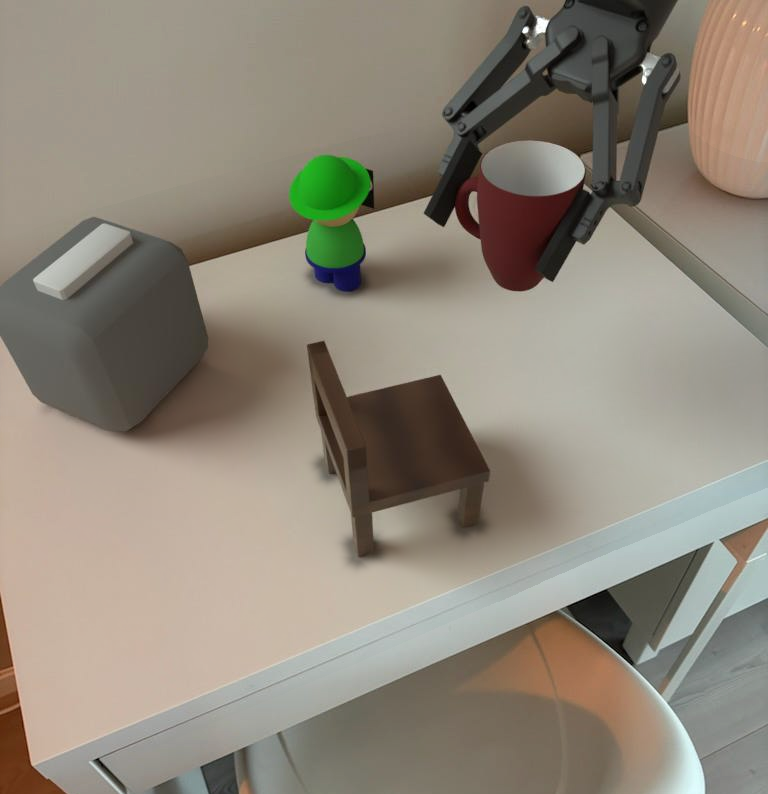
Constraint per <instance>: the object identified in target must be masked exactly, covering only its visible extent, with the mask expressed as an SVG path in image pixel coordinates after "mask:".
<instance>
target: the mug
mask: <svg viewBox="0 0 768 794" xmlns="http://www.w3.org/2000/svg"><path fill="white" fill-rule="evenodd" d="M586 175H587V169H586V164H585V163H584V161H583V160H582V159H581V157H580V156H579V155H578V154H577V153H575V152H574V151H572V150H571V149H569V148H567V147H565V146H562V145H560V144H557V143H553V142H548V141H545V140H544V141H543V140H532V139H531V140H529V139H527V140H525V139H524V140H515V141H509V142H505V143H502V144H499V145H496V146H495V147H493V148H491V149H490V150H488V151H487V152H486V153H485V154H484V155H483V157H482V158H481V159H480V163H479V169H478V176H471V177H470V179H468V180H466V181H465V182H464V183H463V184H462V185H461V187H460V188H459V190H458V192H457V194H456V198H455V207H454V210H455V215H456V217H457V220H458V222H459V224H460V225H461V227H462V228H463V229H464V230H465V231H466V232H467V233H469V234H470V235H471V236H473V237H475V238H476V239H478V240H480V246H481V247H480V248H481V253H482V258H483V260H484V263H485V264H486V267H487V269H488V271H489V273H490V275H491V277H492V278H493V281H494V282H495V283H496V285H497V286H499V287H500V288H502V289H503V290H506V291H510V292H527V291H529V290H533V289H534V288H535V287H537V286H538V285H539V283H541V281H542V280H544V279H545V278H544V277H543V276H542V275H541V274H539V273H538V272H537V271H536V270H535V267H536V265H537V264H538V262H539V260H540V258H541V256H542V255H543V253H544V251H545V249H546V248H547V246H548V244H549V242H550V240H551V239H552V237H553V235H554V233H555V232H556V230H557V228H558V226H559V225H560V223H561V221H562V219H563V217H564V216H565V214H566V212H567V210H568V209H569V207H570V205H571V203H572V201H573V200H574V198H575V196H576V194H577V193H578V191H579V189H580V188H581V189H584V186H585V181H586ZM473 192H474V193H476V207H477V218H478V221H477V220H476V219H475V218H474V217H473V214H472V212H471V210H470V209H471V208H470V196H471V194H472V193H473Z"/></svg>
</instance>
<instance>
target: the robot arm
mask: <svg viewBox="0 0 768 794" xmlns="http://www.w3.org/2000/svg"><path fill="white" fill-rule="evenodd" d="M678 1H679V0H564V3H563V6H562V7H561V8H560V9H559V10H558V11H557V12H556V14H554V15H553V16H552V17H551V18H550V19H549V18H547V17H544V16H539V15H536V14H534V13H533V11H532V10H531V8H530V6H528V5H523V6H521V7H520V8H519V9H518V10H517V11H516V13H515V15H514V18H513V20H512V22H511V24H510V26H509V28H508V30H507V32H506V34H505V35H504V36H503V38H502V39H501V40H500V41H499V42H498V43H497V45H495V47H494V48H493V49H492V51H490V53H489V54H488V55H487V56H486V58H485V59H484V60H483V61H482V62H481V64H480V65H479V66H478V67H477V68H476V70H475V71H474V72H473V73H472V74H471V75H470V77H469V78H468V79H467V80H466V82H465V83H464V84H463V85H462V87H460V89H459V90H458V91H457V92H456V93H455V95H454V96H453V97H452V98H451V99H450V100H449V101H448V103H447V104H446V105H445V106H444V107H443V109H442V112H441V116H442V118H443V119H444V121H446V122H447V124H448V125H449V126H450V127H451V129H452V130H453V137H452V139H451V141H450V143H449V146H448V147H447V149H446V150H445V151H446V152H445V153H444V155H443V157H442V159H441V161H440V163H439V165H438V169H437V174H438V175H439V176H440V180H439V182H438V184H437V186H436V188H435V189H434V191H433V194H432V195H431V198H430V200H429V201H428V203H427V205H426V208H425V209H424V211H423V215H425V216H426V217H427V218H429V219H430V220H432V222H434V223H436V224H437V225H438V226H440V227H442V228H445V227H446V225H447V223H448V221H449V220H450V217H451V215H452V213H453V211H454V210H455V198H456V194H457V192H458V190H459V188H460V187H461V185H462V184H463V183H464V182H465V181H466V180H468V179H470V178H472V174H473V173H474V172H475V169H476V167H477V165H478V163H479V161H480V160H481V157H482V156H483V153H482V152H481V150H480V147H479V144H480V143H482V142H483V141H484V140H486V139H487V138H488V137H490V136H491V135H492V134H494V133H495V132H497V131H498V130H499V129H500V128H502V127H503V126H504V125H506V124H507V123H508V122H509V121H511V119H513V118H515V117H516V116H517V115H518V114H520V113H521V112H522V111H524V110H525V109H526V108H527V107H529V106H530V105H531V104H533V103H534V102H535V101H536V100H538V99H539V98H540V97H546V96H548V95H551V94H552V93H553V92H554V91H556V90H558V92H561V93H563V94H566V95H568V94H569V95H577V96H578V97H579V98H580V99H581V100H583V101H585V102H588V103H591V104H592V168H591V169H592V170H591V171H592V173H591V174H592V176H591V177H592V179H591V180H592V181H591V184H589V188H590V189H591V193H590V191H587V190H586V189H584V188H583V189H581V188H580V189H579V191H578V193H577V194H576V196H575V198H574V200H573V201H572V203H571V205H570V207H569V209H568V210H567V212H566V214H565V216H564V217H563V219H562V221H561V223H560V225H559V226H558V228H557V230H556V232H555V233H554V235H553V237H552V239H551V240H550V242H549V244H548V246H547V248H546V249H545V251H544V253H543V255H542V256H541V258H540V260H539V262H538V264H537V265H536V267H535V270H536V271H537V272H538V273H539V274H541V275H542V276H543V277H544V278H543V279H546V281H550V282H551V283H554V281H555V279H556V278H557V276H558V274H559V272H560V271H561V269H562V267H563V266H564V264H565V262H566V260H567V259H568V257H569V255H570V253H571V252H572V250H573V249H574V247H575V245H576V244H577V243H579V244H581V245H583V246H585V245H586V244H587V243H588V242H589V241H590V240H591V238H592V237H593V235H594V233H595V232H596V230H597V228H598V226H599V225H600V223H601V221H602V219H603V218H604V216H605V214H606V212H607V211H608V209H610V208H611V207H612V206H615V205H626V206H628V207H631V208H632V207H636V206H638V205H639V204H640V203H641V201H642V199H643V193H644V190H645V186H646V183H647V178H648V175H649V170H650V166H651V162H652V160H653V159H652V158H653V155H654V151H655V148H656V143H657V139H658V135H659V130H660V128H661V123H662V119H663V116H664V111H665V107H666V104H667V102H668V100H669V99H670V98H671V95H672V94H673V92H674V90H675V89H676V88H677V86H678V84H679V83H680V80H681V72H680V69H679V65H678V62H677V59H676V55H675V54H673V53H672V52H667V53H664V54H662V55H661V56H659V55H657V54H654V53H652V52H651V48H652V45H653V43H654V41H656V39H657V38H658V37H659V35H660V33H661V32H662V30H663V28H664V26H665V25H666V22H667V21H668V19H669V17H670V15H671V14H672V12H673V11H674V8H675V6H676V5H677V3H678ZM543 40H545V47H544V48H543V49H542V50H540V51H539V52H538V53H537V54H535V55H534V56H533V57H532V58H530V59H529V60H528V61H527V62H526V64H525V67H524V69H522V71H520V72H519V73H518V74H517V75H515V76H514V77H513V75H514V74H515V72H516V71H517V70H518V69H519V68H520V66H522V64H523V63H524V62H525V60H527V57H528V56H529V55H530V53H531V51H532V50H534V51H536V50H537V49H538V48H539V46H540V45H539V44H540V42H542V41H543ZM545 71H547V74H544V73H545ZM640 74H642V75H641V83H642V87H643V88H642V90H641V91H642V92H641V93H640V98H639V102H638V105H637V110H636V113H635V118H634V122H633V126H632V129H631V134H630V137H629V142H628V146H627V149H626V154H625V157H624V162H623V165H622V170H621V174H620V178H619V180H617V167H618V166H617V165H618V164H617V161H618V160H617V159H618V157H617V156H618V151H617V150H618V115H619V112H620V88H621V87H622V86H624V85H625V84H626V83H628V82H629V81H631V80H633V79H634V78H636V77H637V76H638V75H640ZM511 77H513V78H511ZM510 78H511V79H510ZM509 79H510V80H509ZM508 80H509V81H508Z"/></svg>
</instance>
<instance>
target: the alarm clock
mask: <svg viewBox="0 0 768 794" xmlns="http://www.w3.org/2000/svg"><path fill="white" fill-rule="evenodd" d="M0 338H1V341H2V342H3V344H4V345H5V347H6V349H7V351H8V353H9V355H10V356H11V358H12V360H13V361H14V364H15V365H16V367H17V369H18V371H19V372H20V374H21V376H22V378H23V380H24V381H25V383H26V385H27V386H28V389H29V390H30V392H31V394H32V396H34V398H36V399H37V400H38V401H39V402H40V403H42V404H45V405H47V406H49V407H51V408H54V409H56V410H59V411H61V412H62V413H64V414H65V413H66V414H68V415H70V416H72V417H74V418H77V419H80V420H81V421H84V422H86V423H89V424H91V425H93V426H96V427H98V428H101V429H102V430H105V431H111V432H127V431H129V430H130V429H132V428H134V427H135V426H137V425H138V424H140V423H141V422H142V421H143V420H144V419H145V418H146V417H147V416H149V414H150V413H151V412H152V411H153V410H154V409H155V408H156V406H158V405H159V403H160V402H161V401H162V400H163V399H164V398H165V397H167V395H168V394H169V393H170V392H171V391H172V390H173V389H174V388H175V387H176V386H177V384H179V382H180V381H182V380H183V378H184V377H185V376H186V375H187V374H188V373H189V372H190V371H191V370H192V369H193V368H194V366H196V365H197V364H198V363H199V361H200V360H201V359H202V358H204V356H205V355H206V353H207V350H208V348H209V335H208V332H207V327H206V324H205V319H204V317H203V312H202V309H201V305H200V302H199V297H198V293H197V290H196V286H195V283H194V279H193V275H192V272H191V267H190V264H189V260H188V258H187V256H186V254H185V253H184V251H183V249H182V248H180V247H179V246H178V245H176V244H175V243H173V242H171V241H168V240H166V239H164V238H161V237H157V236H156V235H155V236H154V235H151V234H148V233H145V232H142V231H140V230H137V229H133V228H130V227H127V226H124V225H121V224H118V223H114V222H112V221H109V220H106V219H103V218H101V217H96V216H91V217H89V218H85V219H84V220H82V221H81V222H79V223H78V224H77V225H75V226H74V227H73V228H72V229H70V230H69V231H68V232H65V234H64V235H63V236H61V237H60V238H59V239H57V240H56V241H55V242H54V243H52V244H51V245H50V246H49V247H47V248H46V249H45V250H43V251H42V252H41V253H39V254H38V255H37V256H36V257H34V258H33V259H32V260H31V261H29V262H28V263H26V264H25V265H24V266H23V267H22V268H20V269H19V270H18V271H16V272H15V273H14V274H12V275H11V276H10V277H9V278H8V279H6V280H5V281H4V282H3V283H2V284H1V286H0Z"/></svg>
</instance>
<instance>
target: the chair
mask: <svg viewBox="0 0 768 794" xmlns="http://www.w3.org/2000/svg"><path fill="white" fill-rule="evenodd" d="M306 350H307V358H308V365H309V373H310V381H311V388H312V398H313V403H314V404H313V405H314V411H315V417H316V420H317V423H318V426H319V427H320V428H319V429H320V433H321V442H322V450H323V458H324V464H325V467H326V470H327V473H328V474H329V475H330V474H334V473H336V476H337V479H338V481H339V484H340V488H341V491H342V492H343V495H344V498H345V500H346V503H347V506H348V509H349V512H350V520H351V530H352V541H353V542H352V543H353V546H354V549H355V552H356V555H357V557H358V558H360V557H364V556H367V555H371V554H374V553H375V545H374V526H373V525H374V523H373V513H377V512H380V511H383V510H387V509H391V508H394V507H399V506H402V505H405V504H409V503H414V502H417V501H420V500H425V499H429V498H433V497H437V496H439V495H443V494H447V493H452V492H455V491H458V490H459V499H458V508H457V509H458V510H457V518H458V521H459V522H460V525H461V526H462V528H463V529H466V528H468V527H469V528H470V527H473V526H477V525H479V522H480V521H479V520H480V516H481V508H482V502H483V501H482V500H483V494H484V488H485V483H488V482H489V481H490V474H491V469H490V467H489V465H488V463H487V461H486V459H485V458H484V456H483V454H482V452H481V450H480V448H479V446H478V444H477V442H476V440H475V439H474V437H473V435H472V433H471V430H470V429H469V426H468V425H467V423H466V421H465V419H464V417H463V415H462V413H461V411H460V409H459V407H458V406H457V404H456V402H455V400H454V398H453V396H452V394H451V392H450V390H449V388H448V387H447V383H446V382H445V380H444V378H443V376H442V375H441V374H437V375H433V376H428V377H424V378H419V379H417V380H413V381H407V382H402V383H399V384H395V385H391V386H387V387H382V388H379V389H374V390H370V391H366V392H362V393H358V394H353V395H349V396H347V394H346V392H345V391H346V390H345V389H344V387H343V384H342V381H341V378H340V376H339V374H338V372H337V370H336V366H335V365H334V362H333V359H332V357H331V354H330V351H329V349H328V347H327V344H326V342H325V340H320V341H316V342H311V343H307V344H306Z"/></svg>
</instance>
